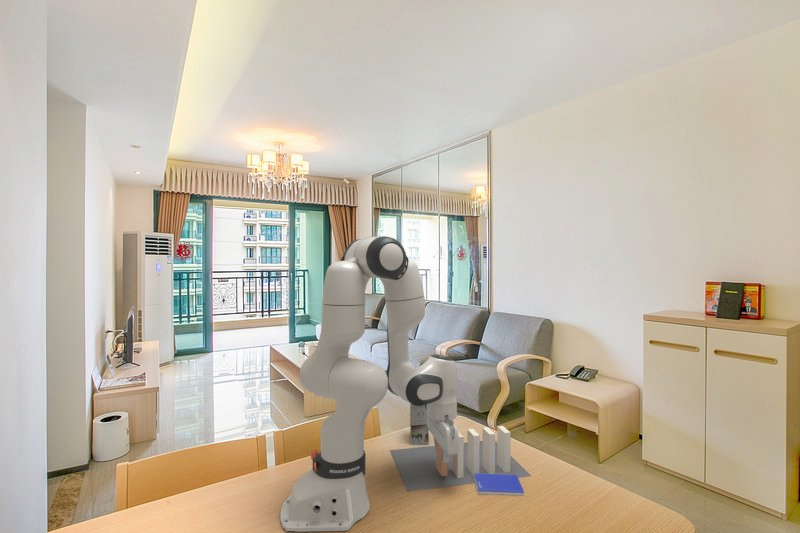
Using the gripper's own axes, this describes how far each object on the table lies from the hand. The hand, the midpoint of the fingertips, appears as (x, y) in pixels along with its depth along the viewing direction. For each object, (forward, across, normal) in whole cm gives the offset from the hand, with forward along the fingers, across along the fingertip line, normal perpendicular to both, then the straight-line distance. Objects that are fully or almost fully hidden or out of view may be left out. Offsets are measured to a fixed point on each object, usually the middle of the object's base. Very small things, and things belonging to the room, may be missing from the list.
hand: (441, 456), depth 120 cm
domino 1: (+6, 0, -5) cm, 8 cm away
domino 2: (+6, 0, -10) cm, 12 cm away
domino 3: (+6, 0, -15) cm, 16 cm away
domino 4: (+6, 0, -20) cm, 21 cm away
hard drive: (+6, -9, -14) cm, 17 cm away
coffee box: (+6, +25, 0) cm, 26 cm away
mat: (+6, +6, -7) cm, 11 cm away
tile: (+4, 0, 0) cm, 5 cm away
